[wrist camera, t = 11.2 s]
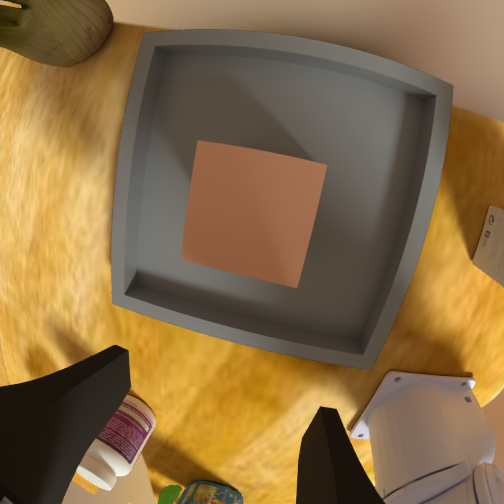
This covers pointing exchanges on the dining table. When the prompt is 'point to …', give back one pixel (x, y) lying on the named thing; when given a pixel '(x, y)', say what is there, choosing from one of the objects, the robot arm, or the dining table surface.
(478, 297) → the dining table surface
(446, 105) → the grey bin
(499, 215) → the skincare box
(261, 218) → the terracotta block
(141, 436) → the pill bottle
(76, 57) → the fennel bulb
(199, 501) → the snack cup
